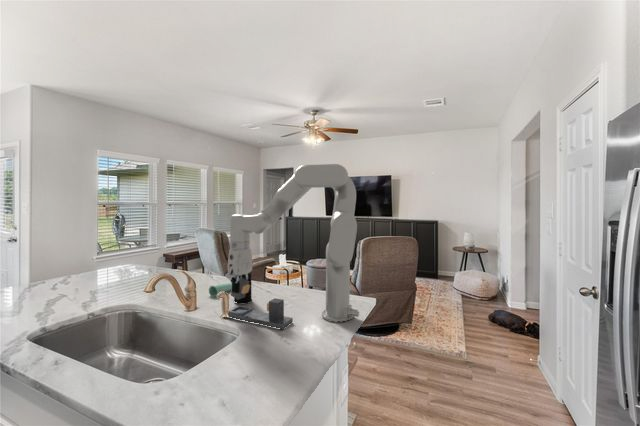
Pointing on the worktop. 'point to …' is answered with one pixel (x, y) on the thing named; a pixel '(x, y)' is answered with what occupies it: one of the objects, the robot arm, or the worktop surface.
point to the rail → (263, 314)
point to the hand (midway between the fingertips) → (239, 290)
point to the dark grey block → (241, 289)
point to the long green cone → (219, 288)
